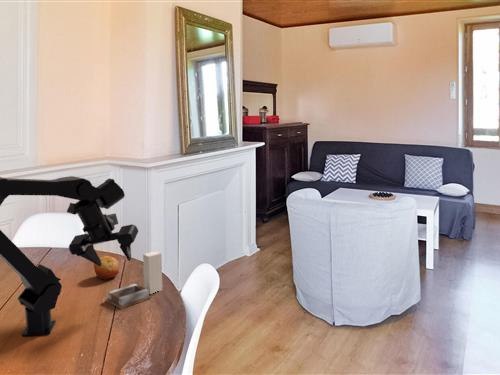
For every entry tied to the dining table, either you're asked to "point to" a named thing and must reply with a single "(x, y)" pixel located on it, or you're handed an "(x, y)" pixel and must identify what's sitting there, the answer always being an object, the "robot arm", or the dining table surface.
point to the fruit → (107, 268)
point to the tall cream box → (152, 271)
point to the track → (128, 296)
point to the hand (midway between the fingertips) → (115, 262)
